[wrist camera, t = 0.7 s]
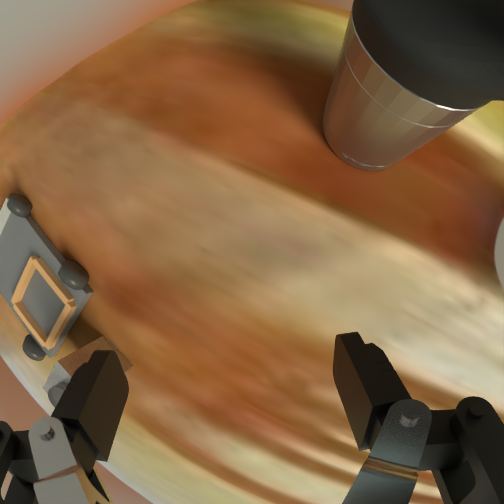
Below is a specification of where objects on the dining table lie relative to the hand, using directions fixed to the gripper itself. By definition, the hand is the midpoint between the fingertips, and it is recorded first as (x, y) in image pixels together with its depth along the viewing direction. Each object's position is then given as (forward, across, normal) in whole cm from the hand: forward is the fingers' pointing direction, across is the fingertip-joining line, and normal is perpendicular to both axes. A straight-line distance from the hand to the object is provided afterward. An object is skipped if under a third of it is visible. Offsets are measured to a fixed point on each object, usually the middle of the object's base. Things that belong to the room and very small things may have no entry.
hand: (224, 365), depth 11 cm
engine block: (+19, +16, +16) cm, 29 cm away
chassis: (+24, +27, +5) cm, 36 cm away
